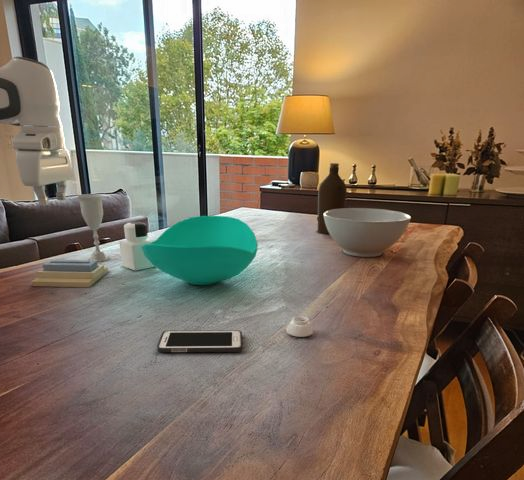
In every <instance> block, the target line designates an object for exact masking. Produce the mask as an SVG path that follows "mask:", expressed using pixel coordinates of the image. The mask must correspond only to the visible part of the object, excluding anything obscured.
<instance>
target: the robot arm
mask: <svg viewBox="0 0 524 480" xmlns="http://www.w3.org/2000/svg"><path fill="white" fill-rule="evenodd" d="M58 94H59V93H58V89H57V84H56V81H55V77H54V73H53V71H52V69H51V68H50V67H49V66H48V65H46V64H45V63H43V62H41V61H38V60H35V59H32V58H28V57H23V56H13V57H12V58H11V59H10V60H9V61H8V62H7V63H6V64H4V65H2V66H0V124H5V125H7V124H8V125H12V126H16V127H20V131H19V132H18V133H17V134H16V135H15V136H13V138H11V145H12V148H13V149H14V150H16V152H15V160H16V161H15V162H16V166H17V171H18V174H19V179H20V181H21V183H22V184H23V185H24V186H25V187H32V189H33V192H34V194H35V195H36V197H37V201H38V205H39V206H43V207H45V206H48V205H49V204H50V201H49V196H47V194H46V185H53V184H55V185H56V192H55V196H56V200H57V201H65V200H66V199H67V195H66V191H67V181H71V180H73V176H74V171H73V166H72V159H71V156H70V153H69V150H68V148H66V144H65V136H64V131H63V125H62V122H61V119H60V114H59V112H60V100H59V95H58Z"/></svg>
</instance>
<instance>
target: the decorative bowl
mask: <svg viewBox="0 0 524 480" xmlns="http://www.w3.org/2000/svg"><path fill="white" fill-rule="evenodd" d="M411 219H412V217H411V216H410V214H408V213H405V212H401V211H396V210H391V209H383V208H382V209H381V208H370V207H369V208H367V207H346V208H342V209H332V210H328V211H325V212H324V220H325V224H326V227H327V230H328V232H329V234H328V235H330V237H331V239H332V240H333V241H334V242H335V243H336V244H337V245H338V246H339V247H340V248H342V249H343V250H342V251H343V253H344V254H346V255H349V256H353V257H358V258H359V257H361V258H374V257H375V258H376V257H379V256H382V255H383V252H384V251H386V250H388V249H390V248H391V247H392V246H394V245H395V244H396V243H397V242H398V240H400V239H401V238H402V236H404V233H405V232H406V230H407V228H408V226H409V224H410V222H411Z"/></svg>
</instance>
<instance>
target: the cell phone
mask: <svg viewBox="0 0 524 480" xmlns="http://www.w3.org/2000/svg"><path fill="white" fill-rule="evenodd" d="M156 350H157V352H159V353H237V352H241V351H242V350H243V332H242V331H241V330H238V329H235V330H234V329H230V330H229V329H226V330H224V329H221V330H220V329H219V330H218V329H217V330H215V329H214V330H213V329H211V330H209V329H207V330H205V329H204V330H163V331H162V333H161V335H160V338H159V340H158V343H157V346H156Z"/></svg>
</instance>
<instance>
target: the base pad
mask: <svg viewBox="0 0 524 480" xmlns="http://www.w3.org/2000/svg"><path fill="white" fill-rule="evenodd" d="M108 272H109V269H108V266H107V267H106V266H105V264H98V268H96V269H95V270H94V271H92V272H58V271H44V270H37V271H36V276H37V277H36V278H35V279H33V280H31V286H32V287H56V288H57V287H60V288H61V287H62V288H65V287H66V288H90V287H91V286H93V285H94V284H95V283H96V282H98V281H99V280H100V279H101V278H102V277H103V276H105V275H106V274H107V273H108Z"/></svg>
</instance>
